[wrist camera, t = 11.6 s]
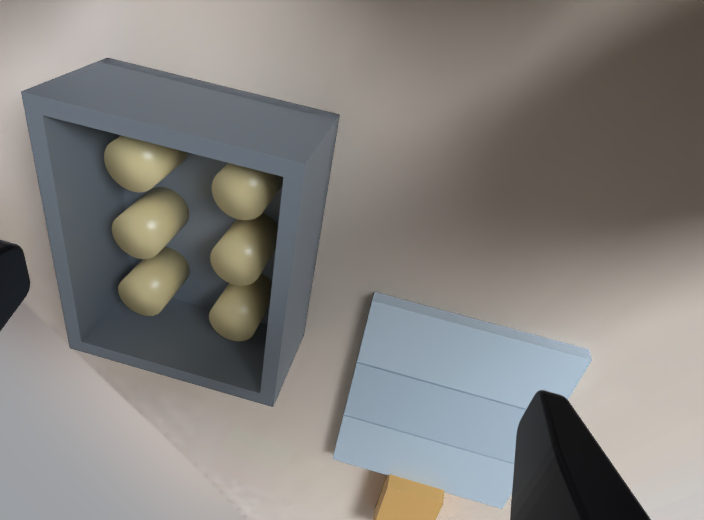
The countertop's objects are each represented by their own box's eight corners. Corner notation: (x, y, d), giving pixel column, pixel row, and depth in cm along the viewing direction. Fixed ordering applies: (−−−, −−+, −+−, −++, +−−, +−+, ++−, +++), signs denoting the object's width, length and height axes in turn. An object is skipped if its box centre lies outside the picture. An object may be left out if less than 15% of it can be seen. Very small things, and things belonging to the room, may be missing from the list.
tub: (339, 114, 19) (305, 163, 15) (303, 334, 25) (272, 406, 22) (107, 57, 20) (21, 91, 16) (128, 286, 26) (70, 347, 22)
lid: (588, 347, 23) (595, 373, 21) (475, 539, 32) (475, 566, 30) (375, 290, 23) (368, 312, 22) (324, 493, 32) (317, 518, 31)
